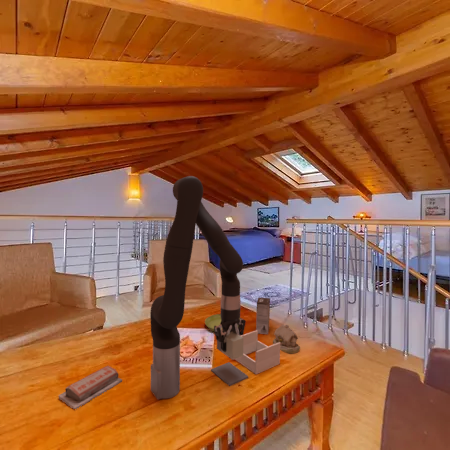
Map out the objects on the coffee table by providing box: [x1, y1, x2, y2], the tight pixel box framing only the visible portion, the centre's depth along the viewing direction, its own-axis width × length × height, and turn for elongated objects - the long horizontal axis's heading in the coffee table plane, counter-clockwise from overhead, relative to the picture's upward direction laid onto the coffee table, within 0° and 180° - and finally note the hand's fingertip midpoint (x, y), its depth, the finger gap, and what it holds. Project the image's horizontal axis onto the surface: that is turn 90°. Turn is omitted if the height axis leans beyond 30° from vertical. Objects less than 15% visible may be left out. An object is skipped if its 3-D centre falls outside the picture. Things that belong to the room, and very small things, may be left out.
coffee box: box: [255, 297, 271, 335], centre depth 151 cm, size 9×6×16 cm
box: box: [216, 332, 243, 361], centre depth 111 cm, size 5×10×7 cm, turn 37°
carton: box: [234, 329, 281, 375], centre depth 121 cm, size 13×14×9 cm
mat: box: [210, 361, 249, 387], centre depth 112 cm, size 9×12×1 cm
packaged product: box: [58, 365, 123, 410], centre depth 101 cm, size 18×5×10 cm
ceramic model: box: [272, 324, 301, 355], centre depth 135 cm, size 14×11×10 cm
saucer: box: [204, 313, 241, 333], centre depth 155 cm, size 21×21×3 cm
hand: (229, 348), depth 111 cm, fingers closed on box, 5 cm apart
